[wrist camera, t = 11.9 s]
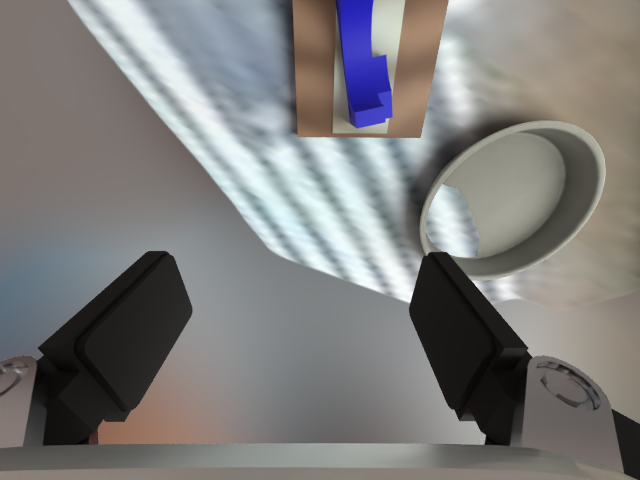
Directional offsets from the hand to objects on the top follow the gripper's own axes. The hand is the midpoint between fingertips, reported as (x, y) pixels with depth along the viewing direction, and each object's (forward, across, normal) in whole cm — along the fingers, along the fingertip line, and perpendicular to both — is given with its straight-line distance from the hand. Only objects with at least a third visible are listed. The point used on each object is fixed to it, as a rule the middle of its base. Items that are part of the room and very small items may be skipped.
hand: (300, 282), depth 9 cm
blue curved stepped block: (+26, -6, -10) cm, 29 cm away
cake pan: (+29, -28, +8) cm, 41 cm away
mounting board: (+28, -6, -10) cm, 31 cm away
